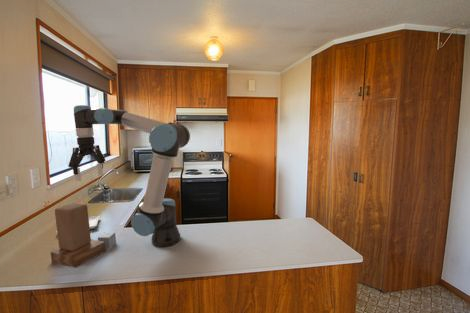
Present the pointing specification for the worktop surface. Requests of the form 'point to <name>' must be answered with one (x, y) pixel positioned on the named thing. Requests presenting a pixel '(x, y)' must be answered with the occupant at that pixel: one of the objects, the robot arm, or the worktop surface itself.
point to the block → (72, 226)
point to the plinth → (78, 254)
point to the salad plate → (92, 222)
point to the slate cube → (108, 239)
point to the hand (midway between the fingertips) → (90, 178)
